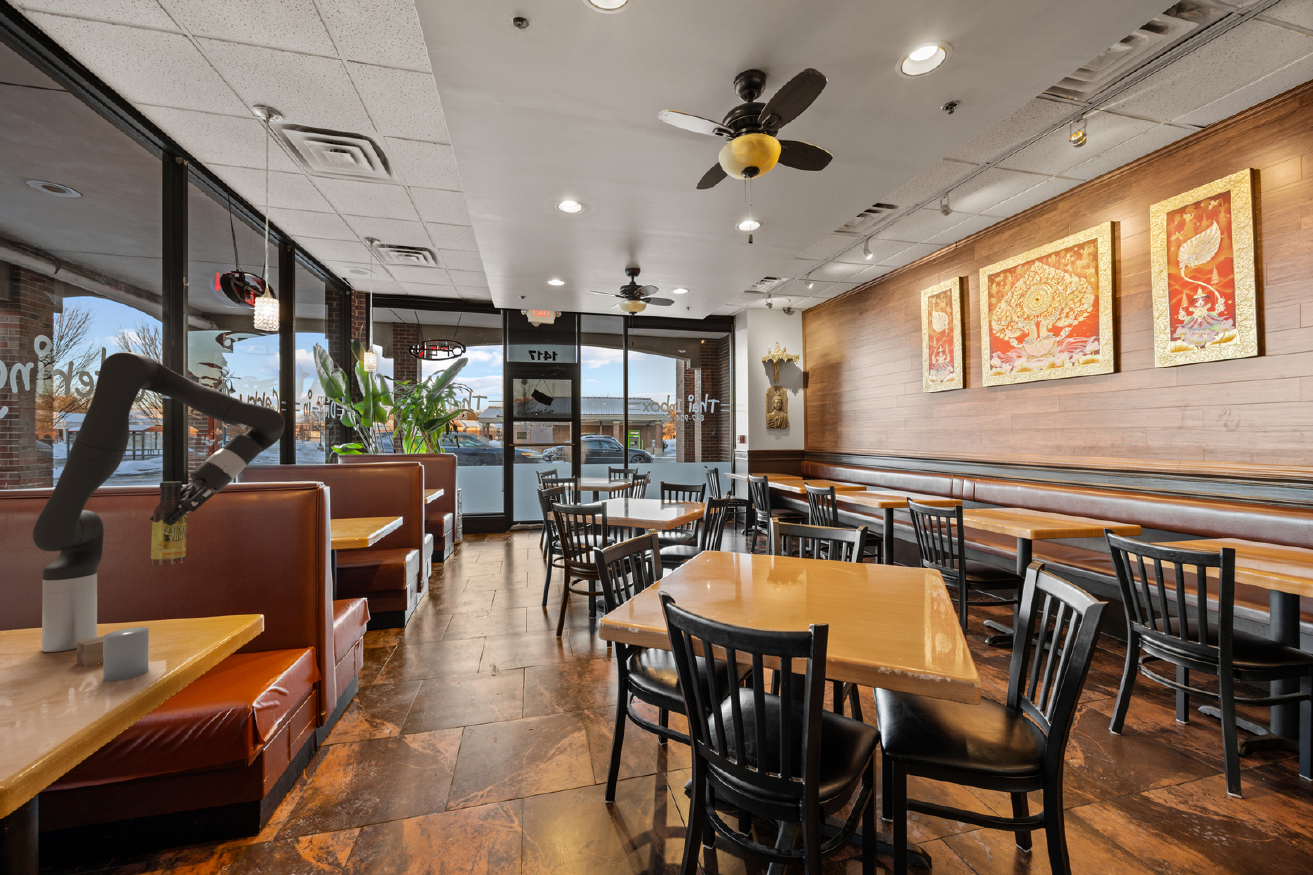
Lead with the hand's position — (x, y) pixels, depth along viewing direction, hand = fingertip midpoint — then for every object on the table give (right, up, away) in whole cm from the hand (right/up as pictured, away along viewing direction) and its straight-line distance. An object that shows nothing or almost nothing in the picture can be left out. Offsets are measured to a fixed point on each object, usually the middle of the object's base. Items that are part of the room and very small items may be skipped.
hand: (160, 522), depth 128 cm
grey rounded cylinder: (+3, -31, -12) cm, 33 cm away
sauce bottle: (+1, -11, +1) cm, 11 cm away
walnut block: (-11, -31, -4) cm, 33 cm away
